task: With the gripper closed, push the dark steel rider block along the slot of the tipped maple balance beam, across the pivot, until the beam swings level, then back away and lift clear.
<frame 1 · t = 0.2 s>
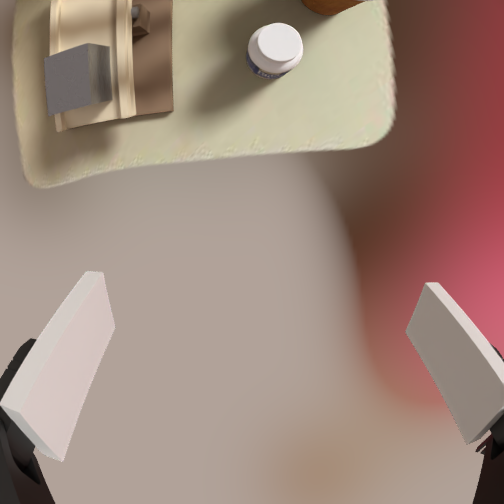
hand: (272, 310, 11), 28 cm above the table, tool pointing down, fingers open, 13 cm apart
balance beam: (89, 21, 20), point 8 cm above the table, hinge at 5.8°, touching steel rider
steel rider: (89, 77, 23), point 7 cm above the table, tilted 6°, touching balance beam
pill bottle: (268, 59, 30), on the table
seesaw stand: (115, 33, 27), on the table
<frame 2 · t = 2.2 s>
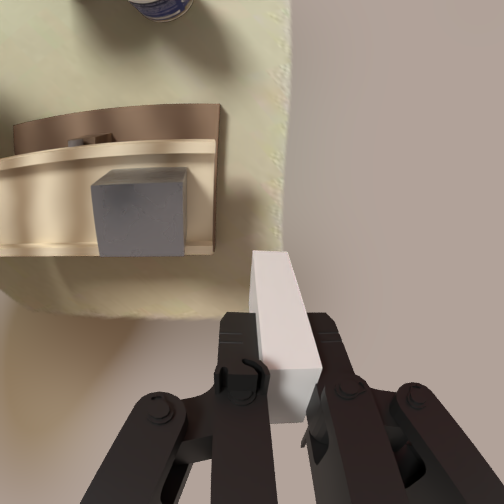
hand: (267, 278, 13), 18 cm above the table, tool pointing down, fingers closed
balance beam: (73, 201, 22), point 8 cm above the table, hinge at 5.8°, touching steel rider
steel rider: (149, 198, 22), point 7 cm above the table, tilted 6°, touching balance beam
pill bottle: (167, 1, 20), on the table
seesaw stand: (105, 179, 28), on the table
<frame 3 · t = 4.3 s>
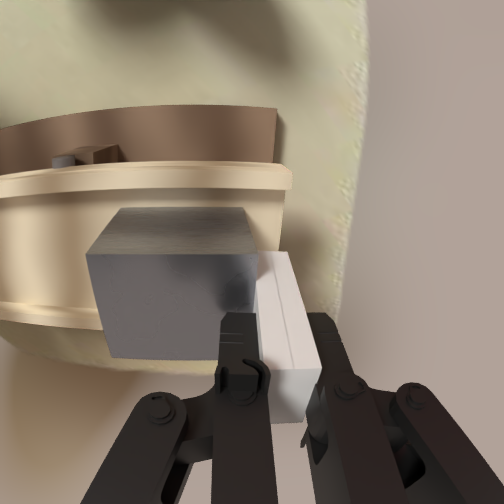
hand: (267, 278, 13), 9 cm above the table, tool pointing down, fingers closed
balance beam: (63, 251, 14), point 8 cm above the table, hinge at 5.8°
steel rider: (181, 253, 15), point 7 cm above the table, tilted 6°, touching gripper
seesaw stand: (109, 207, 21), on the table
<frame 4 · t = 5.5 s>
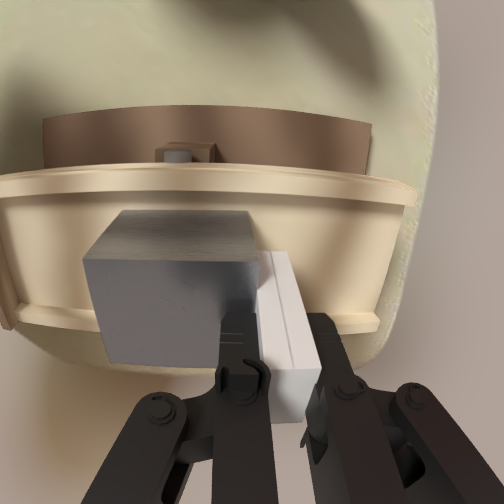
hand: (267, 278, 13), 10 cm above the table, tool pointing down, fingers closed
balance beam: (174, 254, 15), point 8 cm above the table, hinge at 3.3°
steel rider: (184, 257, 15), point 8 cm above the table, touching gripper
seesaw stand: (193, 208, 22), on the table
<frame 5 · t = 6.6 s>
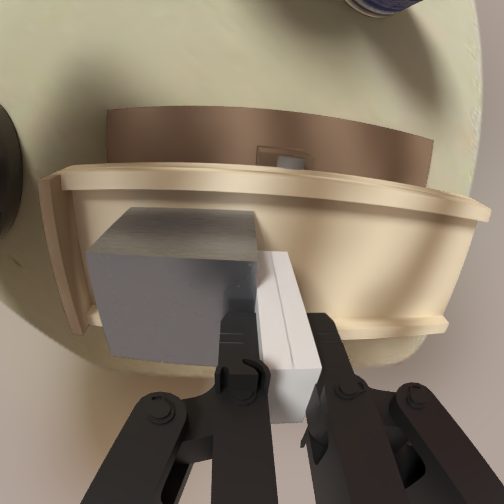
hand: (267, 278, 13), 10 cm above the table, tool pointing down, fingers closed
balance beam: (284, 259, 16), point 8 cm above the table, hinge at -0.5°, touching steel rider
steel rider: (190, 255, 15), point 8 cm above the table, touching balance beam, gripper
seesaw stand: (271, 211, 22), on the table
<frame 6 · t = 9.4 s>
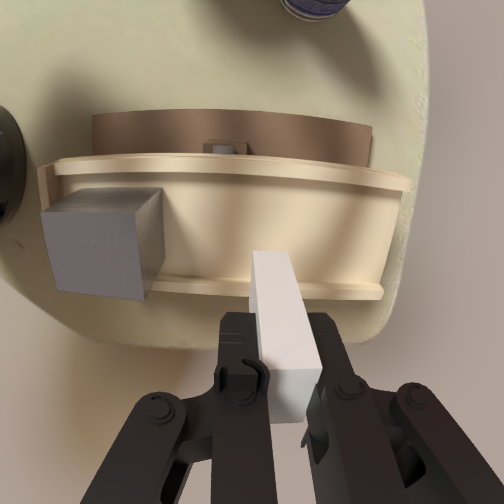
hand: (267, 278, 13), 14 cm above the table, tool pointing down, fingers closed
balance beam: (219, 225, 19), point 8 cm above the table, hinge at -0.7°, touching steel rider
steel rider: (121, 223, 19), point 8 cm above the table, touching balance beam
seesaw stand: (225, 195, 26), on the table
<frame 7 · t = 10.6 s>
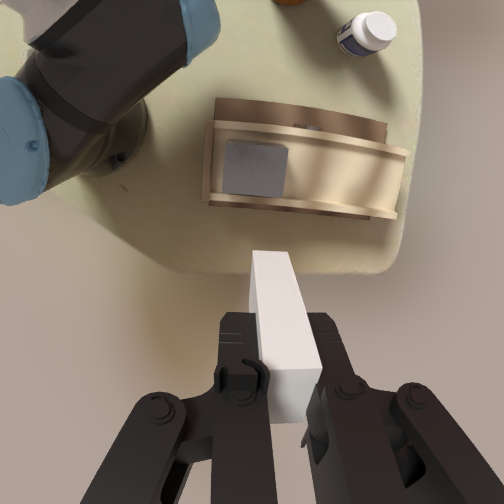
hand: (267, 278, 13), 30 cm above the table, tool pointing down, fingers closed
balance beam: (310, 168, 33), point 8 cm above the table, hinge at -0.7°, touching steel rider
steel rider: (253, 162, 33), point 8 cm above the table, touching balance beam
pill bottle: (353, 41, 33), on the table
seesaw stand: (299, 159, 40), on the table
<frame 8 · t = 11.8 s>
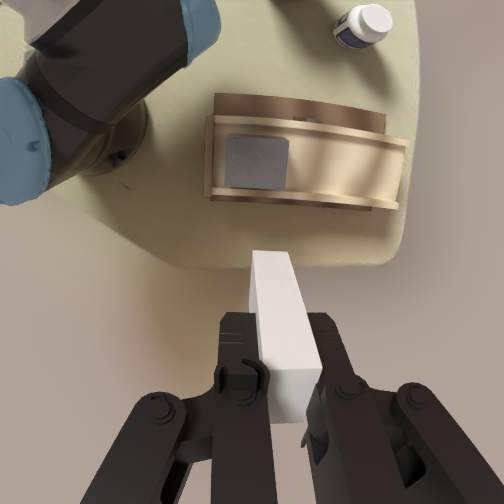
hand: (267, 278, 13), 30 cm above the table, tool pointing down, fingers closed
balance beam: (311, 160, 33), point 8 cm above the table, hinge at -0.7°, touching steel rider
steel rider: (254, 156, 33), point 8 cm above the table, touching balance beam
pill bottle: (349, 34, 32), on the table
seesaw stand: (299, 152, 40), on the table
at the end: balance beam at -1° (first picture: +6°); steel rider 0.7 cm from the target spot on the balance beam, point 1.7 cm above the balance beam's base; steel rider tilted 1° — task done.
